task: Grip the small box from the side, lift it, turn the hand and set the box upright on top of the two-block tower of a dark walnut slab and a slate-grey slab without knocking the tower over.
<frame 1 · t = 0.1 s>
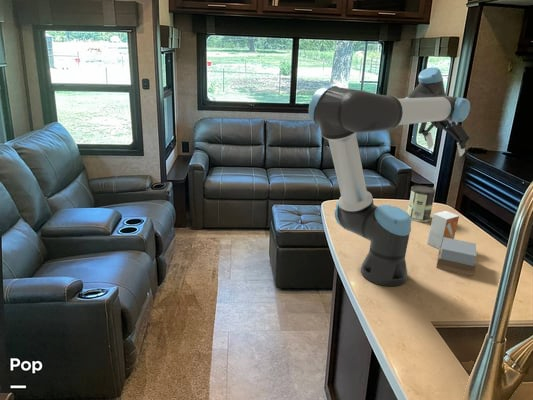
hand: (446, 150, 168), 36 cm above the kitchen island, tool tilted 35°, fingers open, 13 cm apart
lower block: (454, 265, 153), on the kitchen island, touching upper block
upper block: (457, 256, 152), point 3 cm above the kitchen island, touching lower block
coffee can: (417, 218, 195), on the kitchen island
small box: (439, 245, 168), on the kitchen island
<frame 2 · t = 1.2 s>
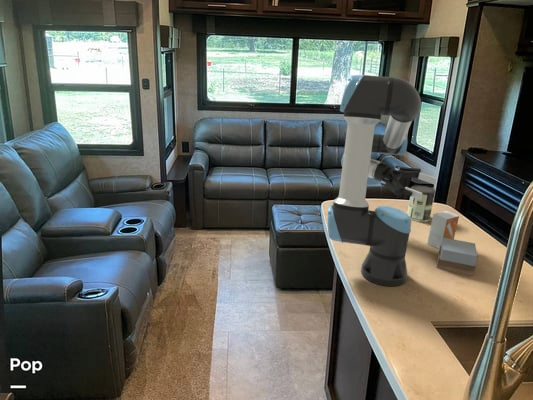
hand: (428, 188, 160), 23 cm above the kitchen island, tool horizontal, fingers open, 13 cm apart
nothing on the kitchen island moved.
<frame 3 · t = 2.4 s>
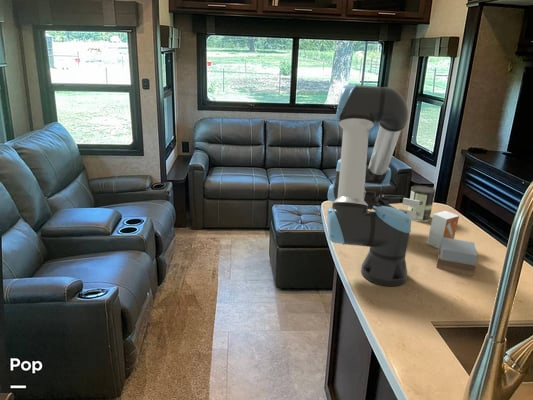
hand: (417, 209, 168), 13 cm above the kitchen island, tool horizontal, fingers open, 13 cm apart
nothing on the kitchen island moved.
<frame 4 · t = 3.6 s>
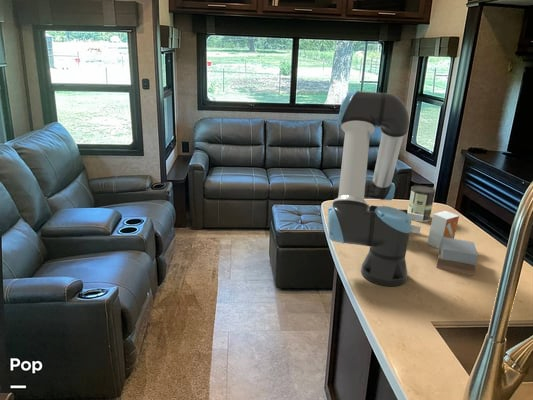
hand: (421, 224, 169), 7 cm above the kitchen island, tool horizontal, fingers open, 13 cm apart
lower block: (454, 265, 153), on the kitchen island
upper block: (456, 255, 152), point 4 cm above the kitchen island
everything else where it was.
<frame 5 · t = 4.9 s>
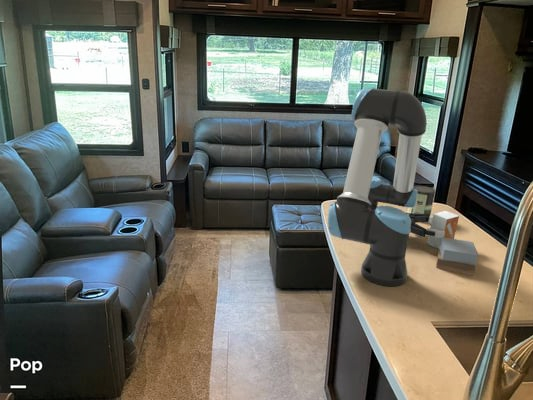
hand: (445, 228, 166), 7 cm above the kitchen island, tool horizontal, fingers open, 13 cm apart
nothing on the kitchen island moved.
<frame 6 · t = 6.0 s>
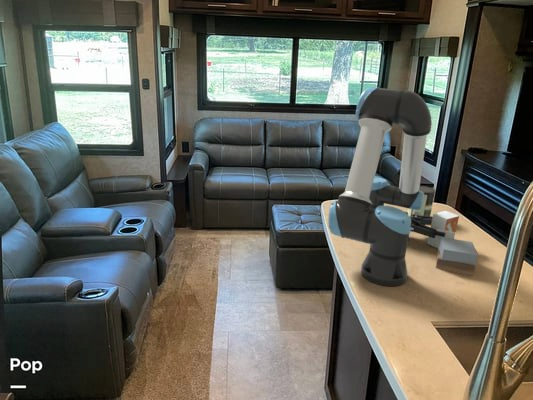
hand: (454, 231, 164), 7 cm above the kitchen island, tool horizontal, fingers closed on small box, 10 cm apart
lower block: (453, 265, 153), on the kitchen island, touching upper block
upper block: (456, 255, 152), point 4 cm above the kitchen island, touching lower block
small box: (439, 245, 168), on the kitchen island, touching gripper
everything else where it was.
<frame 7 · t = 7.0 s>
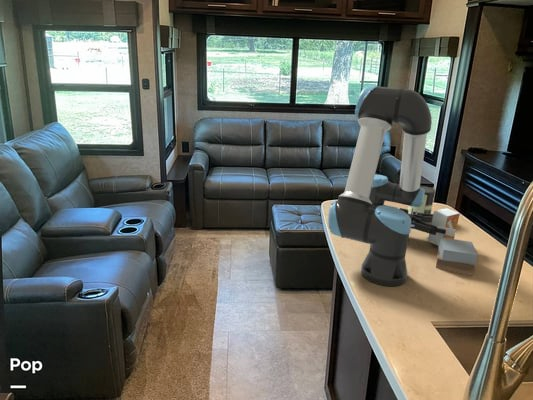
hand: (455, 228, 164), 8 cm above the kitchen island, tool horizontal, fingers closed on small box, 10 cm apart
small box: (440, 242, 168), point 1 cm above the kitchen island, touching gripper
everything else where it was.
when the fingers open (16 cm above the kitchen island, at t = 12.4 s): small box drops 2 cm, resting on upper block.
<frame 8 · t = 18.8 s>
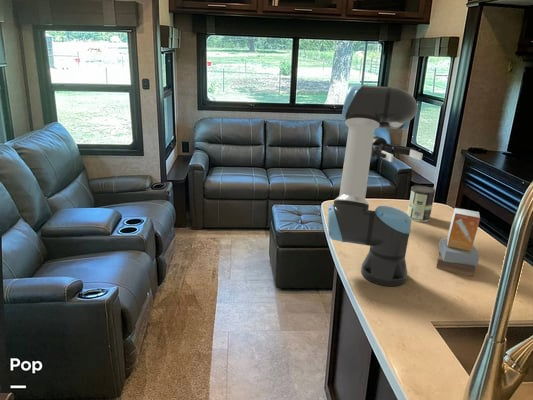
hand: (407, 157, 159), 34 cm above the kitchen island, tool horizontal, fingers open, 13 cm apart
upper block: (456, 256, 152), point 3 cm above the kitchen island, touching lower block, small box
small box: (458, 246, 151), point 7 cm above the kitchen island, touching upper block
everything else where it was.
at the end: small box inside the target area on the upper block (0.3 cm from its centre), point 3.8 cm above the upper block's base; small box tilted 0°; upper block 0.1 cm off-centre on the lower block, point 4.0 cm above the lower block's base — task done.
